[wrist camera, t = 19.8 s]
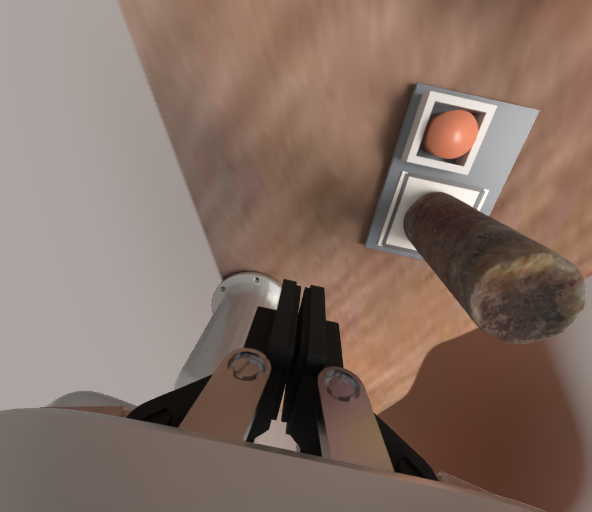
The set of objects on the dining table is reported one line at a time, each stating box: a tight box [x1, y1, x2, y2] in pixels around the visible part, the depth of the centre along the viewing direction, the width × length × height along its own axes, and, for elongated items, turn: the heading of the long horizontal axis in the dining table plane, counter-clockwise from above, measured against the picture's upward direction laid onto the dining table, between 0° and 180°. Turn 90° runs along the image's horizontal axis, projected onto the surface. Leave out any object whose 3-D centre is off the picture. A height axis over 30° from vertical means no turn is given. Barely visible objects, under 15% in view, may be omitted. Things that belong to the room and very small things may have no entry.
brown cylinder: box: [403, 192, 587, 344], centre depth 29 cm, size 8×7×20 cm
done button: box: [423, 110, 478, 159], centre depth 32 cm, size 5×5×2 cm
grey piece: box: [364, 83, 540, 260], centre depth 36 cm, size 20×14×4 cm
